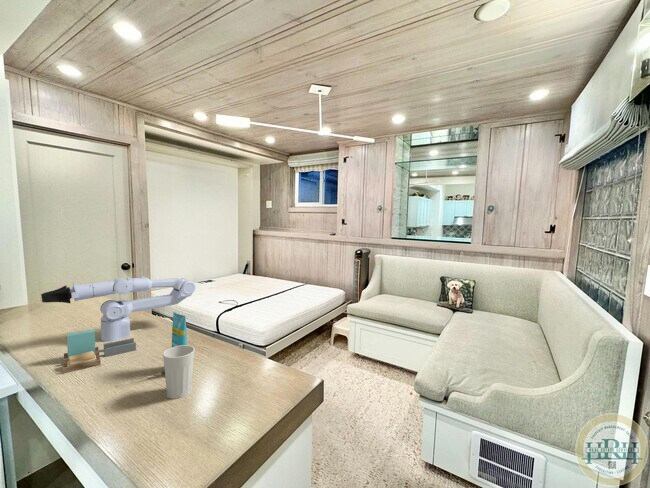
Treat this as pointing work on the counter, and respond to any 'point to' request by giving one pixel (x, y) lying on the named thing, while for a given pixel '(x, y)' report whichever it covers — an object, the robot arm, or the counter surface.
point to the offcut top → (81, 357)
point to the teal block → (81, 342)
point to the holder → (119, 347)
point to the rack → (81, 366)
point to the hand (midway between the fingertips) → (41, 298)
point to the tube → (179, 330)
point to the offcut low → (81, 362)
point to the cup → (178, 370)
